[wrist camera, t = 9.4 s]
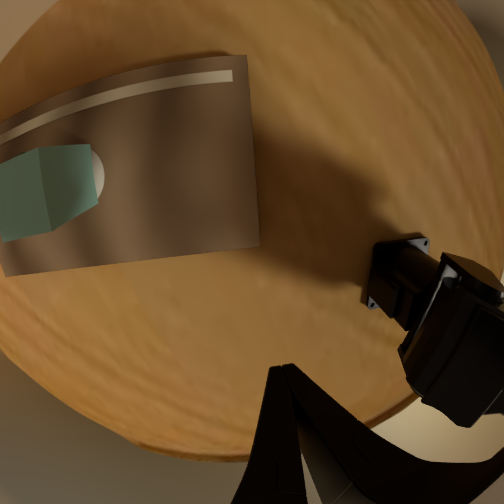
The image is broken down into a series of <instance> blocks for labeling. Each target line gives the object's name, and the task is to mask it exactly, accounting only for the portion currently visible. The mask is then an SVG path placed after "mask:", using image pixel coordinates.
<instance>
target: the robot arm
mask: <svg viewBox="0 0 504 504" xmlns="http://www.w3.org/2000/svg"><path fill="white" fill-rule="evenodd" d="M424 242H425V243H424ZM379 247H381V248H380V250H378V248H379ZM428 248H429V239H428V238H427V237H417V238H409V239H401V240H393V241H385V242H378V243H376V244H375V245H374V248H373V257H372V265H371V269H370V276H369V283H368V290H367V294H368V295H367V301H366V306H367V307H368V308H369V309H375V308H379V307H380V308H381V309H382V310H383V311H384V312H385V314H386V315H387V316H388V317H389V318H394V319H395V320H396V321H397V322H398V324H399V325H400V326H401V327H402V328H403V329H404V330H405V331H409V332H408V333H407V335H406V337H405V339H404V341H403V343H402V344H400V346H399V348H398V349H397V350H398V353H399V356H400V359H401V362H402V365H403V368H404V371H405V374H406V380H407V382H408V384H409V385H410V387H411V388H412V390H413V391H414V392H415V393H416V394H417V395H419V396H420V397H421V398H422V399H421V402H422V403H424V404H426V405H429V406H432V407H434V408H436V409H437V410H439V411H441V412H442V413H443V414H445V415H446V416H447V417H448V418H449V419H450V420H451V421H453V422H454V423H455V424H456V425H458V426H461V427H466V428H470V427H472V426H473V425H474V424H475V423H476V421H477V420H478V419H479V418H480V417H481V416H482V415H489V414H502V415H503V416H504V286H503V285H502V283H501V282H500V281H499V280H498V279H497V277H496V276H495V275H494V274H493V273H492V271H490V270H489V269H487V268H485V267H484V266H482V265H480V264H478V263H476V262H475V261H473V260H470V259H467V258H463V257H460V256H456V255H453V254H449V253H445V252H442V255H441V257H440V259H441V261H440V262H438V261H436V260H435V259H433V258H432V257H430V256H429V255H427V254H428ZM371 303H372V304H371ZM300 449H301V451H302V454H303V457H304V459H305V462H306V464H307V467H308V469H309V472H310V474H311V477H312V479H313V482H314V484H315V487H316V489H317V492H318V494H319V497H320V499H321V502H322V504H504V447H503V448H502V449H501V450H500V451H498V452H497V453H496V454H495V455H494V456H493V457H492V458H491V459H489V460H486V461H483V462H477V463H446V462H430V461H426V460H422V459H420V458H417V457H415V456H413V455H411V454H409V453H407V452H406V451H404V450H402V449H400V448H399V447H397V446H395V445H393V444H391V443H390V442H388V441H387V440H385V439H383V438H382V437H380V436H379V435H377V434H376V433H374V432H373V431H372V430H370V429H369V428H368V427H366V426H365V425H364V424H363V423H362V422H360V421H359V420H357V418H355V417H354V416H353V415H352V414H351V413H349V412H348V411H347V410H346V409H345V408H343V407H342V406H341V405H340V404H339V403H338V402H336V401H335V400H334V399H333V398H332V397H331V396H329V395H328V394H327V393H326V392H325V391H324V390H323V389H321V388H320V387H319V386H318V385H317V384H316V383H315V382H313V381H312V380H311V379H310V378H309V377H308V376H307V375H306V374H305V373H303V372H302V371H301V370H300V369H299V368H298V367H297V366H296V365H295V364H293V363H290V364H284V365H282V366H280V365H278V366H272V367H270V368H269V371H268V376H267V381H266V386H265V391H264V396H263V401H262V405H261V410H260V415H259V419H258V424H257V428H256V433H255V437H254V441H253V445H252V449H251V454H250V457H249V461H248V464H247V467H246V470H245V472H244V475H243V478H242V480H241V482H240V484H239V487H238V489H237V491H236V493H235V495H234V497H233V500H232V502H231V504H308V502H307V497H306V489H305V480H304V473H303V466H302V460H301V453H300Z"/></svg>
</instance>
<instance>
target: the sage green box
mask: <svg viewBox="0 0 504 504" xmlns="http://www.w3.org/2000/svg"><path fill="white" fill-rule="evenodd" d="M97 204H99V203H98V198H97V192H96V186H95V179H94V172H93V165H92V156H91V147H90V144H79V145H61V146H48V147H38V148H35V149H33V150H31V151H28V152H21V153H19V154H17V155H15V156H14V158H12V159H10V160H8V161H6V162H4V163H2V164H0V234H1V238H2V242H3V243H4V242H8V241H12V240H16V239H20V238H25V237H29V236H34V235H38V234H43V233H47V232H52V231H54V230H55V229H57V228H58V227H60V226H62V225H63V224H65V223H66V222H68V221H70V220H71V219H73V218H74V217H76V216H78V215H79V214H81V213H83V212H85V211H86V210H88V209H90V208H92V207H93V206H95V205H97Z"/></svg>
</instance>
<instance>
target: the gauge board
mask: <svg viewBox="0 0 504 504" xmlns="http://www.w3.org/2000/svg"><path fill="white" fill-rule="evenodd" d="M79 144H90V147H91V156H92V165H93V172H94V179H95V186H96V192H97V198H98V203H99V204H97V205H95V206H93V207H92V208H90V209H88V210H86V211H85V212H83V213H81V214H79V215H78V216H76V217H74V218H73V219H71V220H70V221H68V222H66V223H65V224H63V225H62V226H60V227H58V228H57V229H55V230H54V231H52V232H47V233H43V234H38V235H34V236H29V237H25V238H20V239H16V240H12V241H8V242H4V243H3V242H2V238H1V234H0V262H1V265H2V268H3V271H4V274H5V277H9V276H17V275H25V274H33V273H41V272H49V271H57V270H66V269H74V268H82V267H90V266H99V265H107V264H115V263H124V262H132V261H141V260H149V259H158V258H166V257H175V256H183V255H192V254H200V253H209V252H218V251H227V250H235V249H244V248H253V247H260V233H259V218H258V202H257V188H256V173H255V159H254V145H253V131H252V117H251V104H250V91H249V78H248V66H247V55H232V56H217V57H206V58H197V59H189V60H182V61H175V62H169V63H164V64H158V65H153V66H148V67H144V68H139V69H135V70H131V71H127V72H123V73H119V74H116V75H112V76H109V77H105V78H102V79H99V80H96V81H92V82H89V83H87V84H84V85H81V86H78V87H75V88H73V89H70V90H67V91H65V92H62V93H60V94H58V95H55V96H53V97H50V98H48V99H46V100H44V101H42V102H39V103H37V104H35V105H33V106H31V107H29V108H27V109H25V110H23V111H21V112H19V113H17V114H15V115H14V116H12V117H10V118H8V119H6V120H5V121H3V122H1V123H0V164H2V163H4V162H6V161H8V160H10V159H12V158H14V156H15V155H17V154H19V153H21V152H28V151H31V150H33V149H35V148H38V147H48V146H61V145H79Z"/></svg>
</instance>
